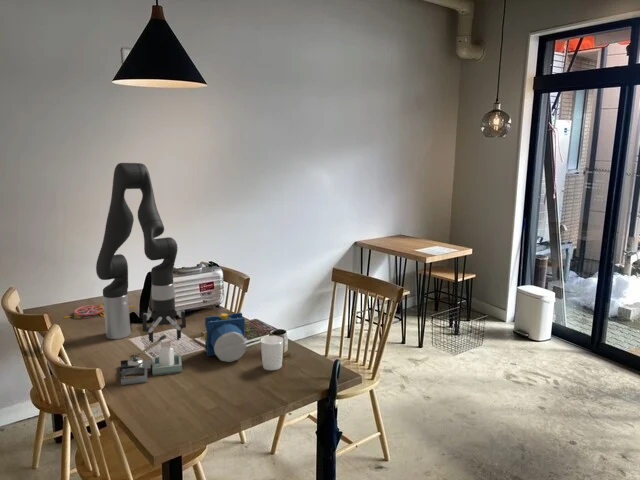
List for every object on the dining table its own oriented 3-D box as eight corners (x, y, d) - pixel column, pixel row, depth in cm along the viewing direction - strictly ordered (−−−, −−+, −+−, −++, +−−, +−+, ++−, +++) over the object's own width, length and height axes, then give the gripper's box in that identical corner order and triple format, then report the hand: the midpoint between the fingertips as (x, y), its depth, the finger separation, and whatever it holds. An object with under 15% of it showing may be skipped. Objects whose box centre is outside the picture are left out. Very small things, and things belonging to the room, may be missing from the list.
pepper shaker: (175, 364, 181) (173, 339, 179) (169, 369, 177) (168, 343, 175) (164, 363, 181) (163, 338, 179) (158, 368, 178) (157, 342, 176)
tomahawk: (145, 362, 186) (145, 359, 186) (129, 358, 188) (129, 356, 187) (177, 340, 206) (177, 337, 205) (162, 337, 207) (162, 334, 207)
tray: (153, 364, 182) (152, 357, 182) (180, 360, 185) (180, 354, 184) (152, 375, 173) (152, 368, 173) (182, 372, 176) (181, 365, 175)
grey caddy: (121, 366, 180) (120, 355, 179) (151, 362, 183) (150, 352, 182) (118, 385, 166) (117, 374, 165) (150, 381, 169) (149, 370, 168)
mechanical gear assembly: (61, 314, 233) (67, 325, 221) (60, 305, 232) (66, 316, 221) (129, 302, 250) (138, 312, 238) (128, 294, 249) (137, 304, 237)
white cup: (286, 363, 183) (286, 337, 181) (278, 372, 176) (277, 345, 174) (266, 360, 186) (266, 334, 184) (257, 369, 179) (256, 342, 177)
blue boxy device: (203, 349, 194) (203, 314, 189) (242, 344, 199) (243, 309, 194) (210, 368, 182) (209, 331, 177) (251, 362, 188) (251, 325, 183)
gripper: (184, 291, 179) (185, 334, 183) (141, 294, 175) (143, 338, 179) (185, 297, 172) (186, 342, 176) (140, 301, 168) (143, 347, 172)
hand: (165, 340), depth 177 cm, fingers open, 8 cm apart
